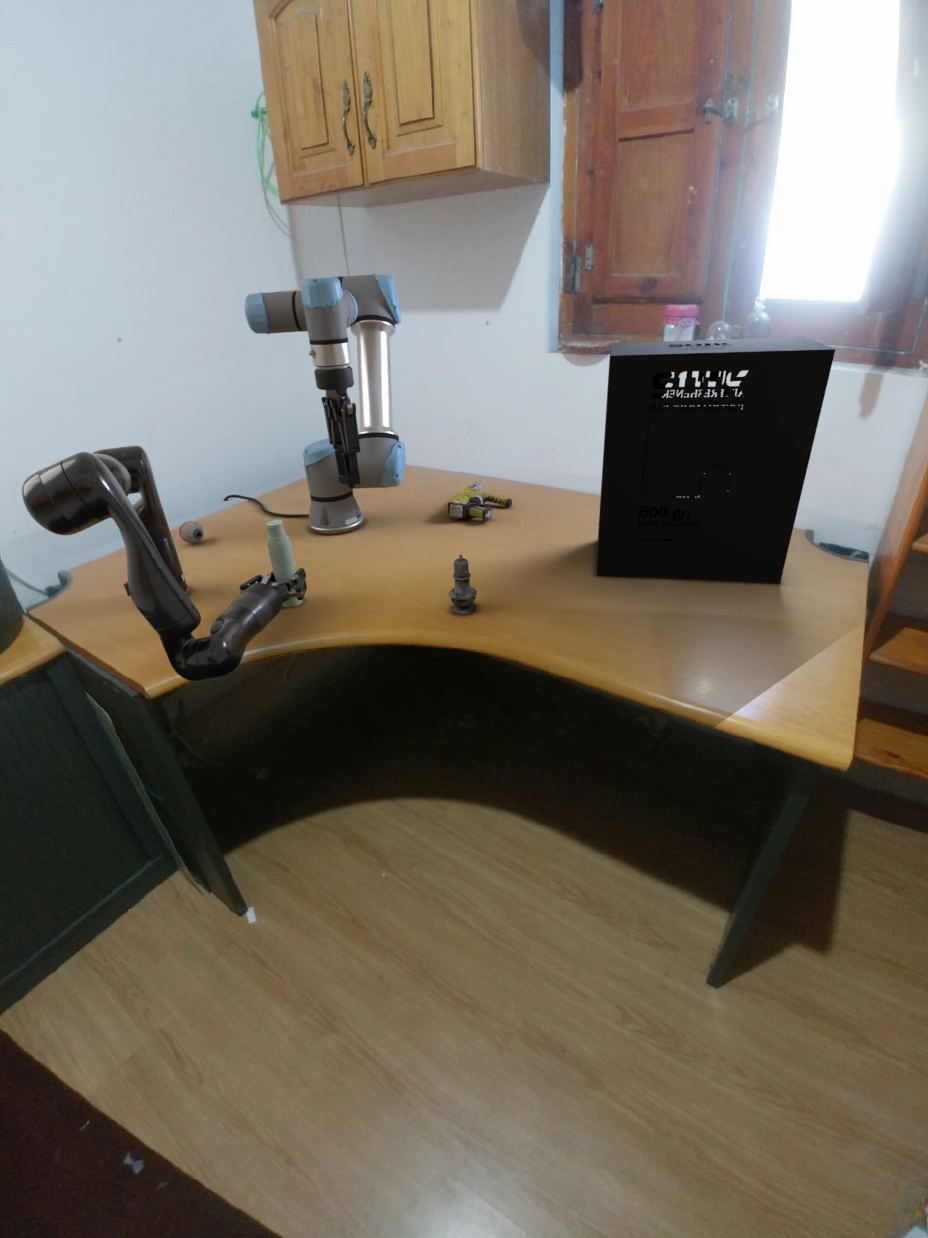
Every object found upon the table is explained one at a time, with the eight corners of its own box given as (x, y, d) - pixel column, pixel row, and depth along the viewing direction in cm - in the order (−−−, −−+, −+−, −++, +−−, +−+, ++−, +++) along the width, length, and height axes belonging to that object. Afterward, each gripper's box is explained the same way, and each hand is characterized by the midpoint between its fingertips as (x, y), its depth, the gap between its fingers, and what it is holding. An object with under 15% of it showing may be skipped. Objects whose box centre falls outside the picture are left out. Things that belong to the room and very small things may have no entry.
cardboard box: (759, 545, 143) (803, 336, 120) (780, 583, 126) (835, 349, 103) (597, 539, 151) (610, 343, 128) (596, 575, 134) (610, 355, 111)
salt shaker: (475, 615, 121) (472, 561, 115) (446, 614, 122) (442, 560, 116) (480, 601, 126) (478, 548, 120) (452, 600, 127) (449, 547, 121)
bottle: (306, 598, 132) (290, 519, 123) (296, 608, 128) (278, 527, 119) (287, 596, 133) (270, 518, 124) (276, 606, 129) (258, 526, 120)
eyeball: (192, 548, 159) (186, 527, 156) (178, 544, 162) (171, 523, 159) (211, 540, 164) (205, 519, 161) (197, 537, 167) (190, 516, 164)
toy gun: (520, 486, 181) (473, 479, 185) (498, 510, 161) (445, 501, 165) (519, 501, 183) (472, 494, 187) (496, 526, 163) (445, 518, 167)
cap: (350, 477, 134) (349, 468, 133) (364, 480, 131) (363, 471, 130) (335, 482, 131) (333, 473, 130) (348, 485, 129) (347, 476, 128)
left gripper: (284, 594, 112) (319, 556, 126) (214, 591, 115) (257, 554, 129) (291, 629, 116) (325, 588, 130) (224, 625, 118) (265, 585, 133)
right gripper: (300, 365, 125) (320, 476, 136) (329, 372, 112) (348, 495, 123) (335, 361, 128) (351, 469, 139) (367, 368, 115) (381, 487, 126)
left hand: (291, 571), depth 130 cm, fingers closed on bottle, 4 cm apart
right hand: (349, 481), depth 131 cm, fingers closed on cap, 4 cm apart
